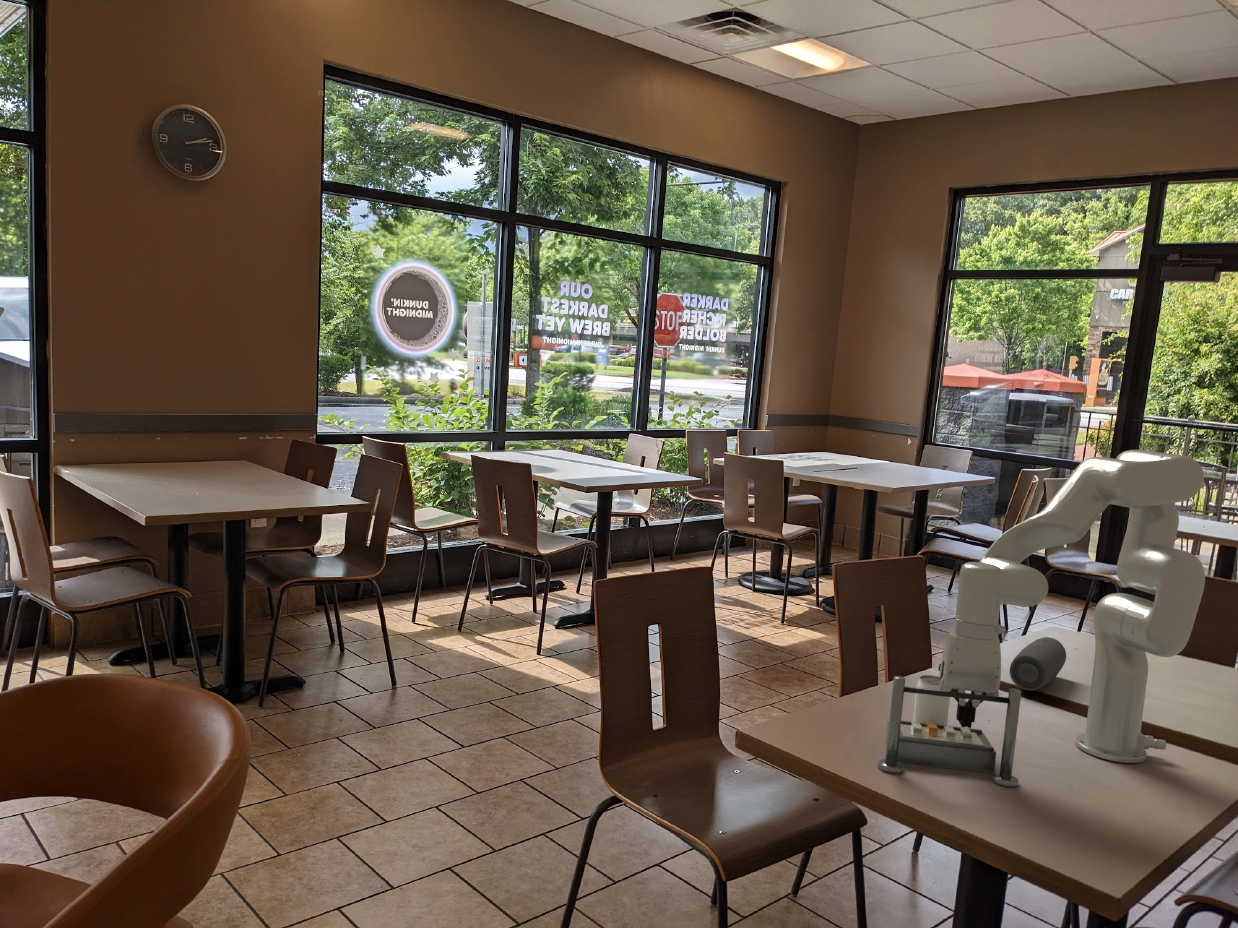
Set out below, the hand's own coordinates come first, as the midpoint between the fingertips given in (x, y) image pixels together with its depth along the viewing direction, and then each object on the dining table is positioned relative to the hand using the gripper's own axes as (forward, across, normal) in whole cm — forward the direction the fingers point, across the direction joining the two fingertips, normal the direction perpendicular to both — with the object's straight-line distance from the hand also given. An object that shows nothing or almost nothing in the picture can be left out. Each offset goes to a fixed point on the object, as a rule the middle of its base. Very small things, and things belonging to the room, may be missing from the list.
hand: (964, 724), depth 178 cm
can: (+7, +4, -10) cm, 13 cm away
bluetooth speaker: (+7, -30, -56) cm, 64 cm away
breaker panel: (+7, +4, -1) cm, 8 cm away
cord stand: (+7, +4, +8) cm, 11 cm away
